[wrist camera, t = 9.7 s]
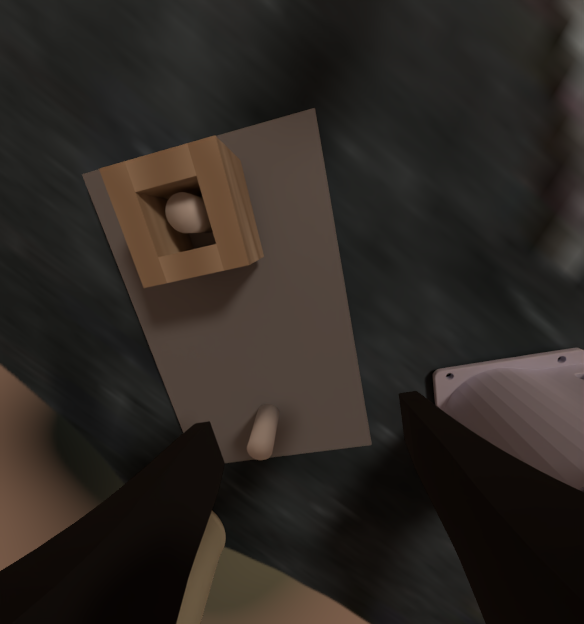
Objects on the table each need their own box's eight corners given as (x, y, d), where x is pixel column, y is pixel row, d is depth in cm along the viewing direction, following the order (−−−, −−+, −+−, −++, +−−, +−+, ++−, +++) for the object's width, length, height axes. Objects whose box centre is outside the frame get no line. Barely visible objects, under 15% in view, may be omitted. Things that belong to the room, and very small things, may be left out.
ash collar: (240, 160, 15) (215, 135, 11) (264, 256, 16) (249, 264, 12) (152, 184, 15) (99, 168, 11) (182, 274, 17) (143, 288, 13)
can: (125, 487, 25) (-38, 712, 13) (225, 498, 24) (147, 740, 13) (136, 557, 27) (10, 795, 16) (227, 568, 27) (164, 820, 15)
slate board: (314, 115, 15) (315, 66, 11) (368, 435, 21) (384, 491, 17) (94, 177, 17) (14, 158, 12) (201, 456, 23) (174, 513, 18)
